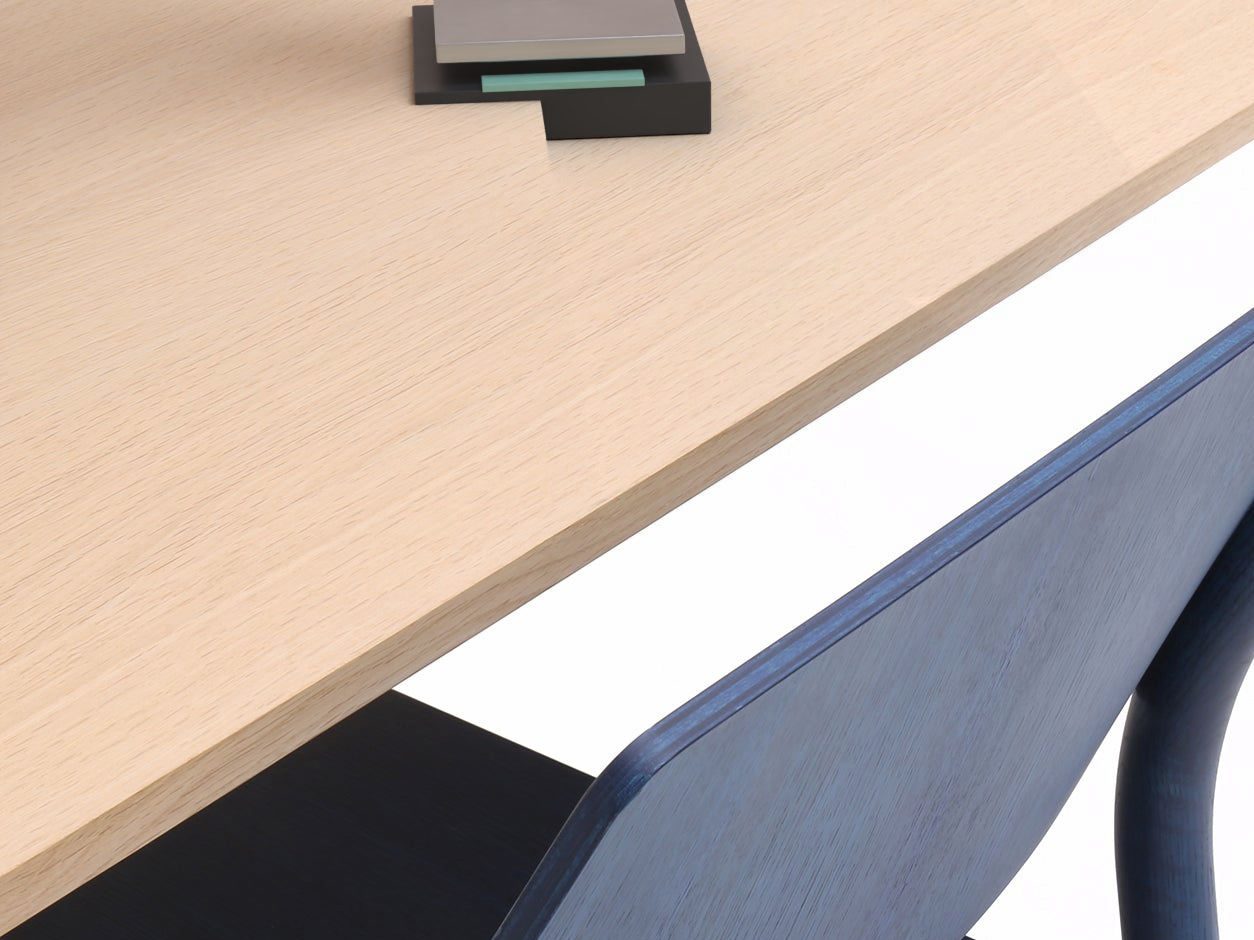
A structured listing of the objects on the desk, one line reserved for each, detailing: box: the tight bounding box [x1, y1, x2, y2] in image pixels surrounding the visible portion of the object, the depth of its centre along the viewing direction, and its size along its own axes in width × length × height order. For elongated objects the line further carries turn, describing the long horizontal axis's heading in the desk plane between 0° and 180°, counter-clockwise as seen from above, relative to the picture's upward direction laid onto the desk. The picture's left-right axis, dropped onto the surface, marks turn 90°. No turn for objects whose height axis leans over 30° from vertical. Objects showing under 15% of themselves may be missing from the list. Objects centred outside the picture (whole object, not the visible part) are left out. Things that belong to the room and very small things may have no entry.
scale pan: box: [432, 0, 685, 64], centre depth 90 cm, size 9×9×1 cm
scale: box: [411, 0, 712, 140], centre depth 91 cm, size 11×10×2 cm
